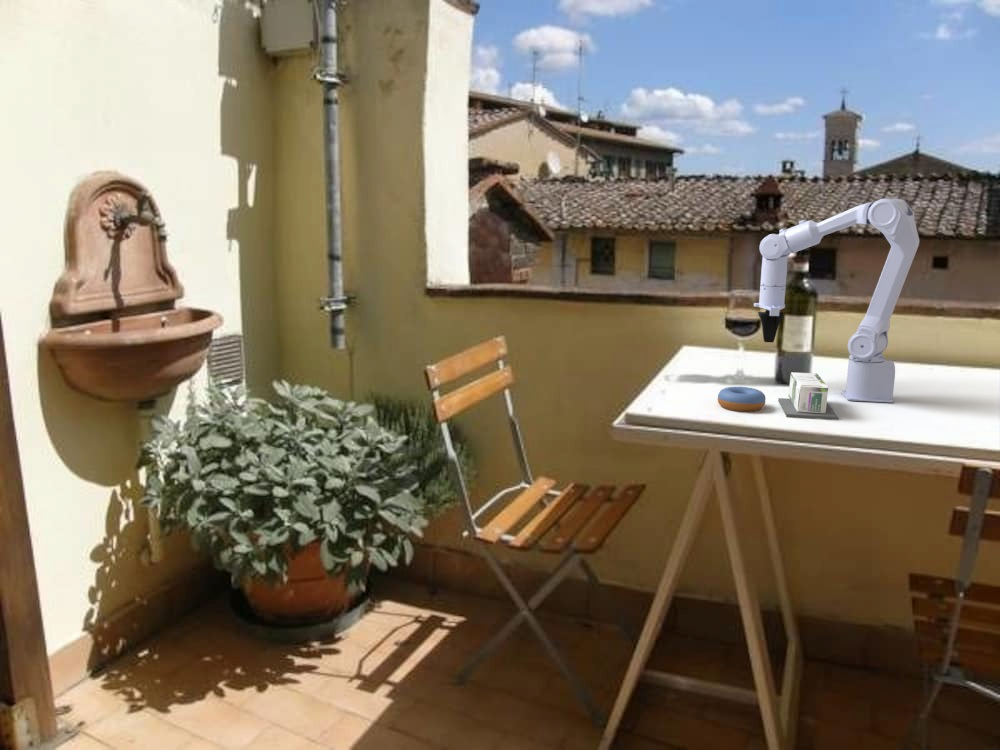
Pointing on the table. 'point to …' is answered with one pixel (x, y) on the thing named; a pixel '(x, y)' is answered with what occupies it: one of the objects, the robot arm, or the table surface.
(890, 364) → the robot arm
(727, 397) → the doughnut
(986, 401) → the table surface
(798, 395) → the syrup box
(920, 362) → the table surface
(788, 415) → the mat
